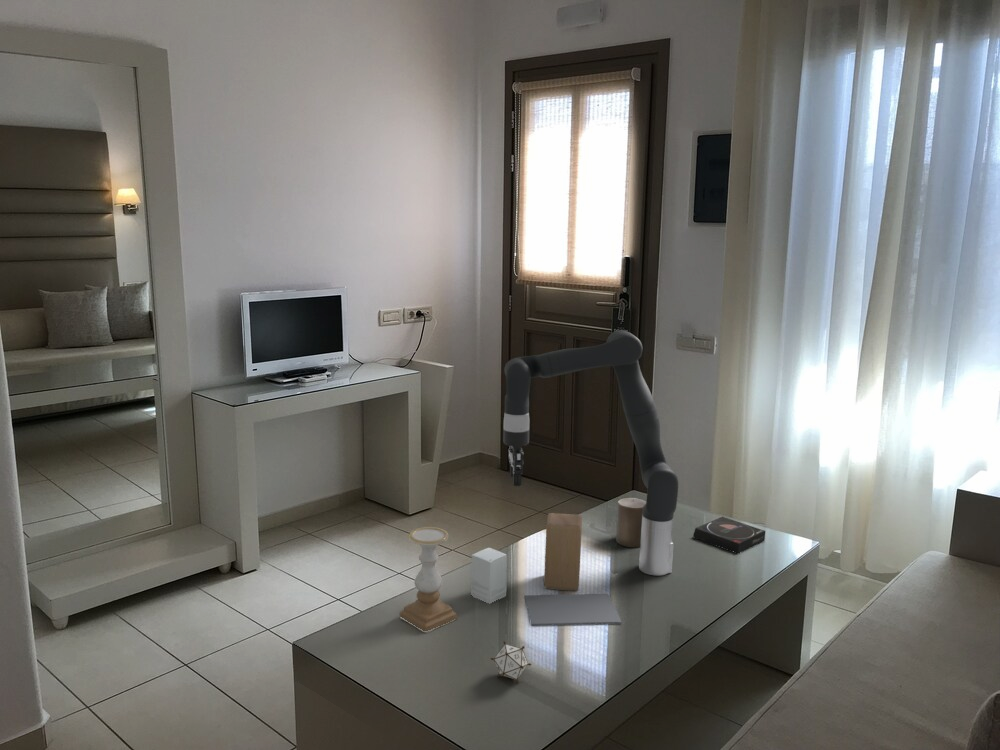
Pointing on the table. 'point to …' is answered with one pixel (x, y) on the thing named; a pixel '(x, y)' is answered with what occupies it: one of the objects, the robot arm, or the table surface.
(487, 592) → the supplement box
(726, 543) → the portable cd player
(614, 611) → the mat
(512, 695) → the table surface
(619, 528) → the pillar candle
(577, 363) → the robot arm
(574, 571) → the block
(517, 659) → the game die
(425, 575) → the candle holder
